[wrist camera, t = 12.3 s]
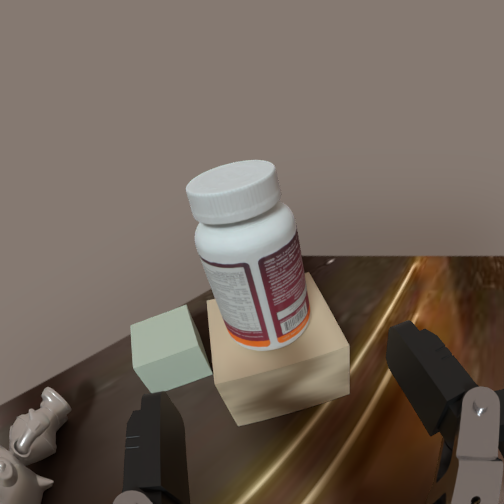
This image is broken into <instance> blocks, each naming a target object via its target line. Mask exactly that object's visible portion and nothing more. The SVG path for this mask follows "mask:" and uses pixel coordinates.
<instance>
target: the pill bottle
mask: <svg viewBox="0 0 504 504" xmlns="http://www.w3.org/2000/svg"><path fill="white" fill-rule="evenodd" d="M186 193H187V196H188V200H189V203H190V206H191V211H192V214H193V217H194V218H195V219H196V220H197V221H199V222H200V223H199V225H198V226H197V229H196V232H195V244H196V248H197V251H198V254H199V256H200V259H201V262H202V264H203V267H204V270H205V273H206V275H207V278H208V281H209V283H210V286H211V289H212V291H213V294H214V297H215V299H216V302H217V305H218V307H219V310H220V313H221V315H222V318H223V320H224V323H225V325H226V328H227V330H228V332H229V335H230V336H231V338H232V339H233V340H234V341H235V342H236V343H237V344H239V345H240V346H242V347H244V348H247V349H251V350H256V351H269V350H275V349H279V348H282V347H284V346H287V345H289V344H290V343H292V342H294V341H295V340H296V339H297V338H298V337H300V336H301V334H302V333H303V332H304V331H305V329H306V328H307V326H308V323H309V320H310V305H309V298H308V293H307V285H306V280H305V274H304V267H303V261H302V255H301V250H300V244H299V239H298V232H297V226H296V222H295V218H294V215H293V213H292V211H291V209H290V208H289V207H288V206H287V205H286V204H285V203H283V202H281V201H279V200H280V198H281V190H280V186H279V182H278V177H277V172H276V168H275V166H274V165H273V164H272V163H271V162H267V161H263V160H247V161H240V162H234V163H230V164H226V165H223V166H219V167H216V168H214V169H211V170H208V171H206V172H204V173H202V174H200V175H199V176H197V177H195V178H194V179H193V180H191V181H190V182H189V183H188V185H187V186H186Z"/></svg>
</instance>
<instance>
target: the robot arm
mask: <svg viewBox="0 0 504 504" xmlns="http://www.w3.org/2000/svg"><path fill="white" fill-rule="evenodd" d="M386 360H387V364H388V367H389V369H390V371H391V372H392V374H393V376H394V377H395V379H396V380H397V382H398V384H399V385H400V387H401V389H402V390H403V392H404V393H405V395H406V397H407V398H408V400H409V402H410V403H411V405H412V406H413V408H414V410H415V411H416V413H417V415H418V416H419V418H420V420H421V421H422V423H423V425H424V426H425V428H426V430H427V432H428V433H429V435H430V436H432V435H434V434H436V433H438V432H440V433H441V435H442V436H443V438H442V442H441V447H440V452H439V457H438V462H437V467H436V471H435V476H434V480H433V484H432V487H431V489H430V491H429V493H428V496H427V498H426V501H425V504H498V501H499V496H500V489H501V482H502V474H503V462H502V460H501V459H499V458H498V448H499V450H500V452H501V454H502V456H503V458H504V389H502V390H498V391H493V390H491V389H489V388H487V387H479V386H478V385H477V384H476V383H475V382H474V381H473V380H472V378H471V377H470V376H469V374H468V373H467V372H466V371H465V369H464V368H463V367H462V366H461V364H460V363H459V362H458V361H457V359H456V358H455V357H454V356H452V353H451V352H450V351H449V349H448V348H447V347H445V345H444V343H443V342H442V341H441V340H440V339H439V337H438V336H437V335H435V334H433V333H432V332H430V331H428V330H426V329H423V330H421V331H419V330H418V329H417V327H416V326H415V325H414V324H413V323H412V322H411V321H409V320H408V321H405V322H403V323H400V324H398V325H395V326H393V327H390V329H389V333H388V343H387V352H386ZM126 437H127V439H126V444H125V447H126V450H125V460H124V481H123V490H122V493H121V494H120V495H118V496H117V497H116V499H115V500H114V502H113V504H190V496H189V485H188V473H187V459H186V444H185V428H184V423H183V419H182V417H181V414H180V413H179V411H178V410H177V408H176V407H175V405H174V404H173V403H172V401H171V400H170V398H169V397H168V395H167V394H166V392H164V391H160V392H155V393H149V394H144V395H143V396H142V402H141V410H137V411H133V413H132V415H131V417H130V419H129V421H128V423H127V431H126Z"/></svg>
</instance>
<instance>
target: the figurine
mask: <svg viewBox="0 0 504 504" xmlns="http://www.w3.org/2000/svg"><path fill="white" fill-rule="evenodd" d="M41 396H42V399H43V400H42V402H41V404H40V409H38V410H34V409H29V413H27V414H25V415H23V414H22V415H20V416H18V417H17V418H16V421H15V422H14V424H13V426H11V427H10V432H9V434H10V436H9V441H10V443H9V451H8V450H7V449H5V448H4V447H2V446H1V445H0V504H41V501H42V497H43V492H44V491H45V490H47V489H48V488H50V487H52V486H53V485H52V484H53V483H54V481H53V480H50V479H47V478H44V477H42V476H39V475H37V474H35V473H34V472H33V471H31V470H30V469H29V468H27V467H26V466H27V465H30V464H33V463H36V462H38V461H40V460H43V459H45V458H47V457H49V456H50V455H52V454H55V452H56V448H57V446H56V431H58V430H59V428H60V427H61V426H62V425H63V424H64V423H65V422H66V421H67V420H68V417H67V414H68V413H70V411H71V407H70V405H69V404H68V403H67V402H66V401H65V400H64V399H63V398H62V397H61V396H60V395H59V394H58V393H57V392H56V391H54V390H53V389H52V388H50V387H46V388H45V389H44V391H43V392H42V395H41Z"/></svg>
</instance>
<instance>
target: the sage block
mask: <svg viewBox="0 0 504 504" xmlns="http://www.w3.org/2000/svg"><path fill="white" fill-rule="evenodd" d="M131 344H132V359H133V369H134V370H135V372H136V373H137V374H138V376H139V377H140V378H141V380H142V381H143V383H144V384H145V385H146V387H147V388H148V389H149V391H150V392H151V393H155V392H160V391H167V390H170V389H173V388H176V387H179V386H182V385H184V384H187V383H190V382H193V381H196V380H198V379H201V378H204V377H207V376H209V375H212V374H213V373H212V370H211V367H210V364H209V361H208V358H207V355H206V352H205V349H204V346H203V343H202V340H201V337H200V334H199V332H198V330H197V327H196V325H195V323H194V321H193V319H192V317H191V314H190V312H189V310H188V308H187V305H184V306H181V307H179V308H176V309H173V310H171V311H168V312H165V313H163V314H160V315H157V316H155V317H152V318H149V319H147V320H144V321H141V322H139V323H136V324H133V325H131Z"/></svg>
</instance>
